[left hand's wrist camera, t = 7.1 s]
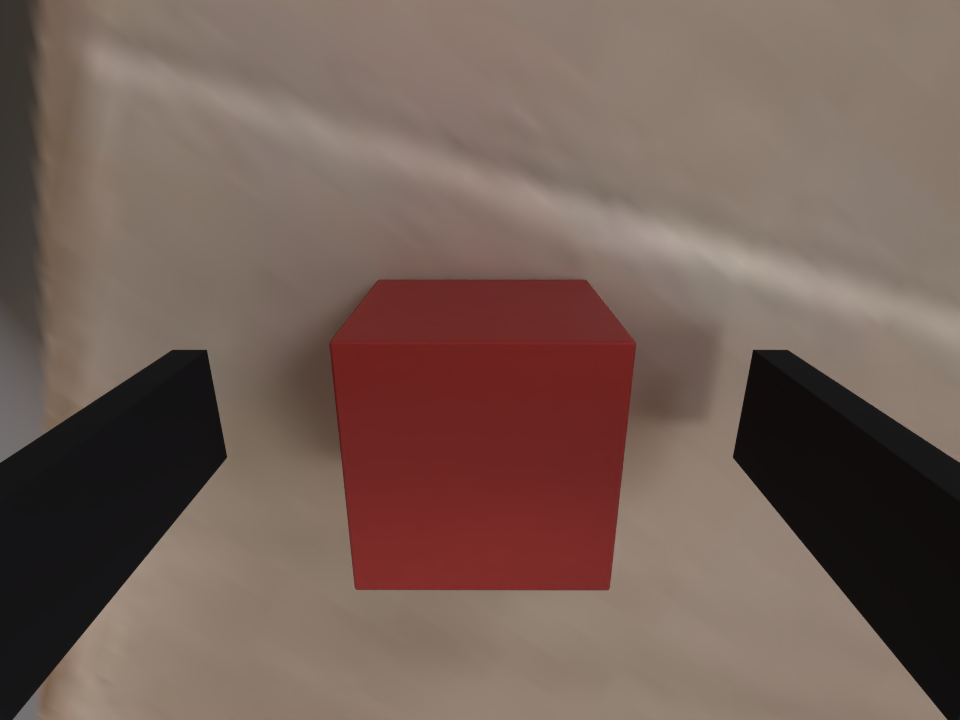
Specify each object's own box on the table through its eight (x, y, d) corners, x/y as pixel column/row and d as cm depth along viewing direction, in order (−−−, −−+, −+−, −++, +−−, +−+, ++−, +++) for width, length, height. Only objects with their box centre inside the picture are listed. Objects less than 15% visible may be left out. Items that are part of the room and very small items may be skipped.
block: (390, 465, 15) (354, 591, 11) (377, 279, 13) (328, 341, 9) (573, 466, 15) (609, 591, 11) (587, 279, 13) (636, 341, 9)
